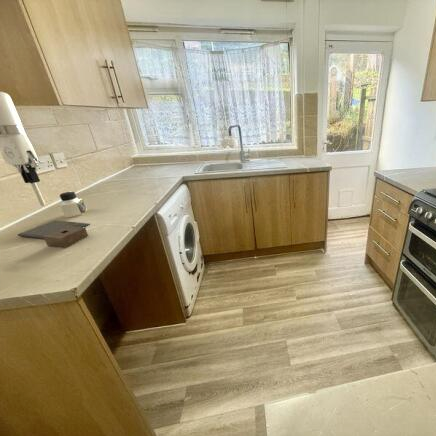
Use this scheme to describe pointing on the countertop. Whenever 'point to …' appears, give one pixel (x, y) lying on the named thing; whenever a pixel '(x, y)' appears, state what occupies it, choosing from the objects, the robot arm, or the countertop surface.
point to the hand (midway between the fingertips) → (32, 182)
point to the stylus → (38, 194)
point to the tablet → (49, 228)
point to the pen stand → (65, 236)
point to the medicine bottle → (72, 204)
